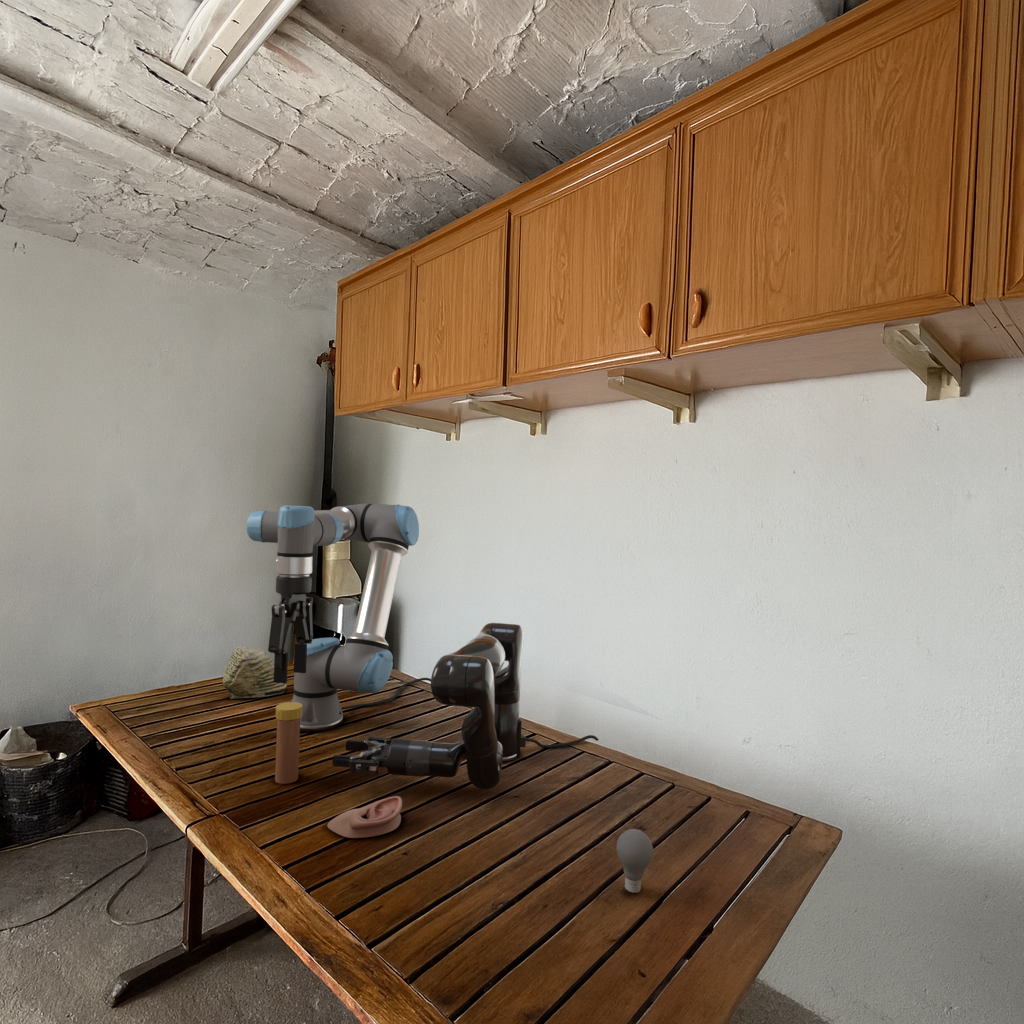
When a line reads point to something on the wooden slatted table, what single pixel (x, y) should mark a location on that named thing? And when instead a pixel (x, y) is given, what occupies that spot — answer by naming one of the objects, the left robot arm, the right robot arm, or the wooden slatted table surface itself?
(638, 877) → the light bulb
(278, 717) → the lid
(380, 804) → the anatomical model
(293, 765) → the jar
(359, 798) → the wooden slatted table surface
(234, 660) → the fossil
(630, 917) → the wooden slatted table surface
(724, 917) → the wooden slatted table surface
